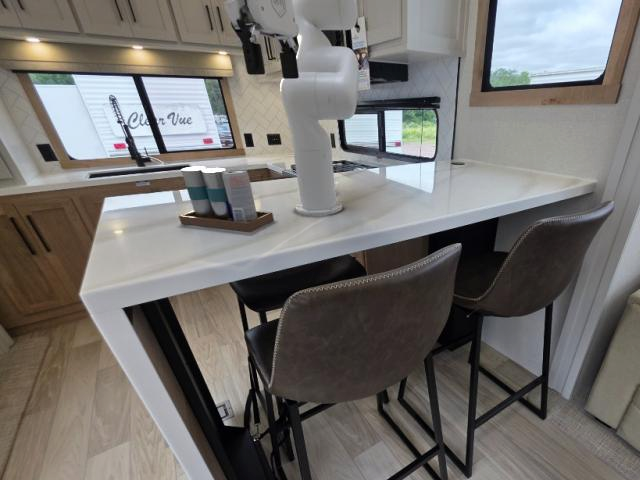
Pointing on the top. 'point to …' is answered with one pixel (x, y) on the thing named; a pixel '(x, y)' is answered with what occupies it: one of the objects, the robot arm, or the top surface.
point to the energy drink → (239, 195)
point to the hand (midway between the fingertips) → (274, 76)
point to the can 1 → (198, 192)
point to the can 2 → (217, 193)
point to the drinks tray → (227, 222)
